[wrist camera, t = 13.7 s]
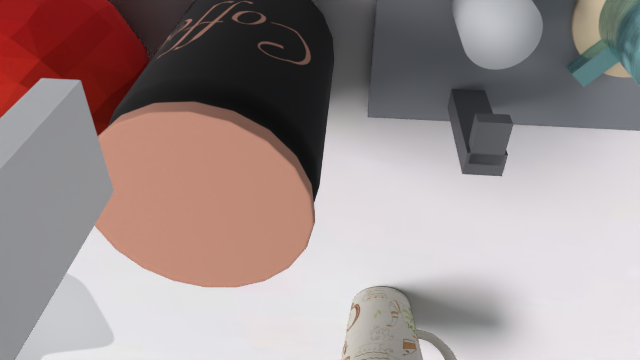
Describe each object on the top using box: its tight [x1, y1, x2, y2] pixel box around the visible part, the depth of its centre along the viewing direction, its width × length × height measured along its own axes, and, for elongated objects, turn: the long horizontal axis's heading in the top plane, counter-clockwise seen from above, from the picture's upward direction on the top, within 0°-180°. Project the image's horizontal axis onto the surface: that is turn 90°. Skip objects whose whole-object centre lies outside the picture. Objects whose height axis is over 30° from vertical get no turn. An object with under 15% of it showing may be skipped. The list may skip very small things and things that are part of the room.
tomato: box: [0, 0, 150, 136], centre depth 34 cm, size 16×14×14 cm
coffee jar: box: [95, 0, 334, 287], centre depth 31 cm, size 11×11×18 cm
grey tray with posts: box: [368, 0, 640, 176], centre depth 31 cm, size 18×22×9 cm
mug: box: [341, 287, 457, 360], centre depth 51 cm, size 8×13×10 cm, turn 72°
